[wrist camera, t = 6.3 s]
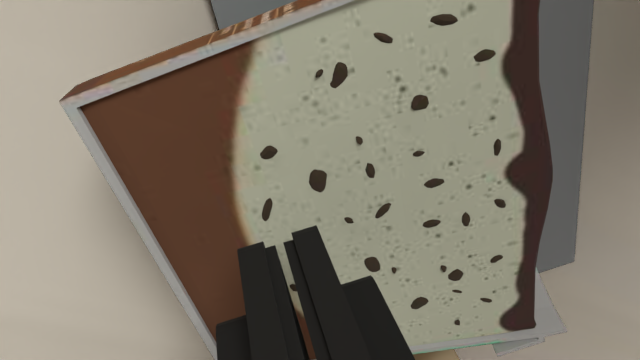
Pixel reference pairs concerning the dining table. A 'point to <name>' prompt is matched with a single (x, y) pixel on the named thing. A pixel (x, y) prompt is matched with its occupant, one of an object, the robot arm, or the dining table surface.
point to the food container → (344, 160)
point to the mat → (558, 99)
